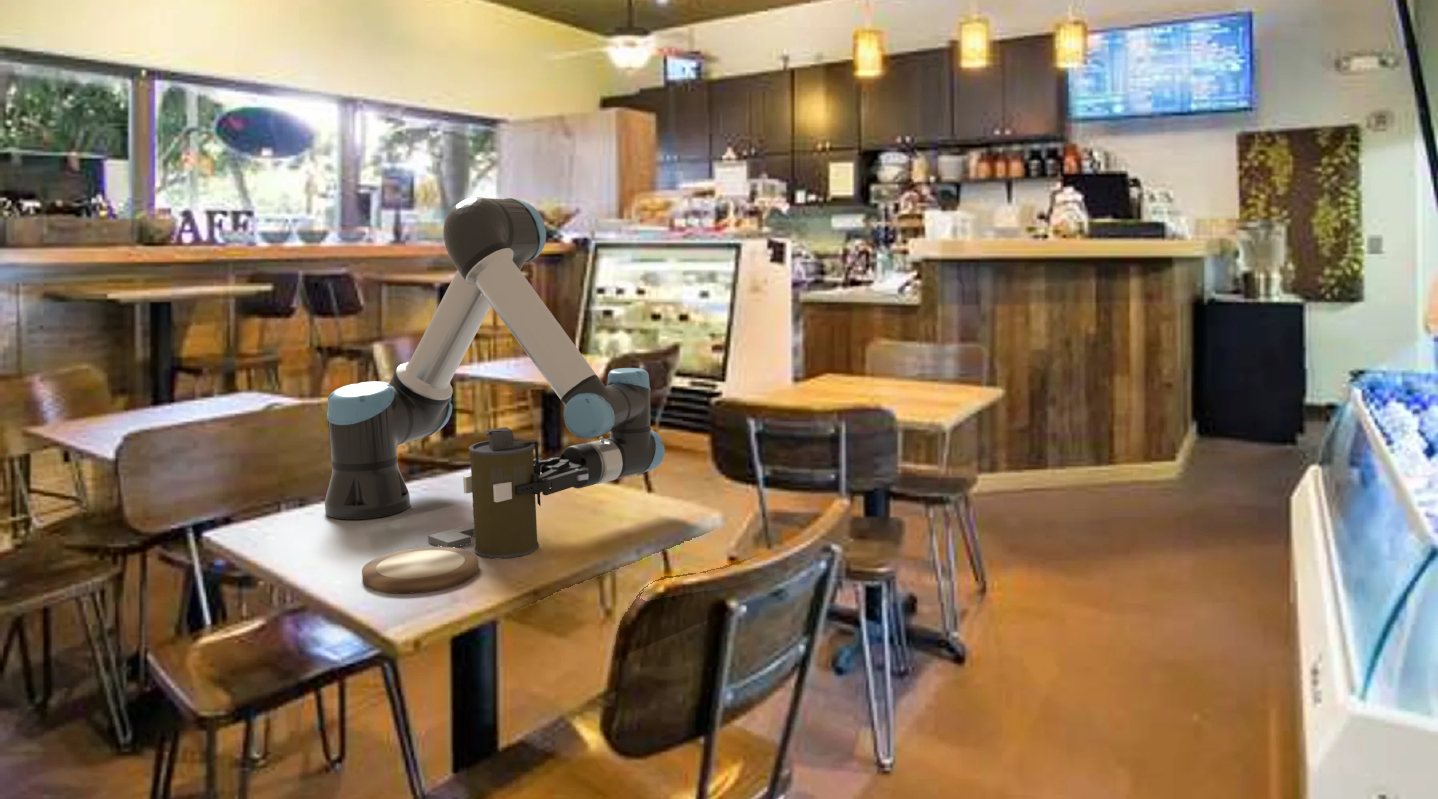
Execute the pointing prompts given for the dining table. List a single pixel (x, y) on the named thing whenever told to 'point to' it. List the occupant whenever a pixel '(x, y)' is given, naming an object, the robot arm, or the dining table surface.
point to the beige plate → (420, 570)
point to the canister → (509, 521)
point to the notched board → (453, 537)
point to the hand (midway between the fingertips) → (479, 489)
